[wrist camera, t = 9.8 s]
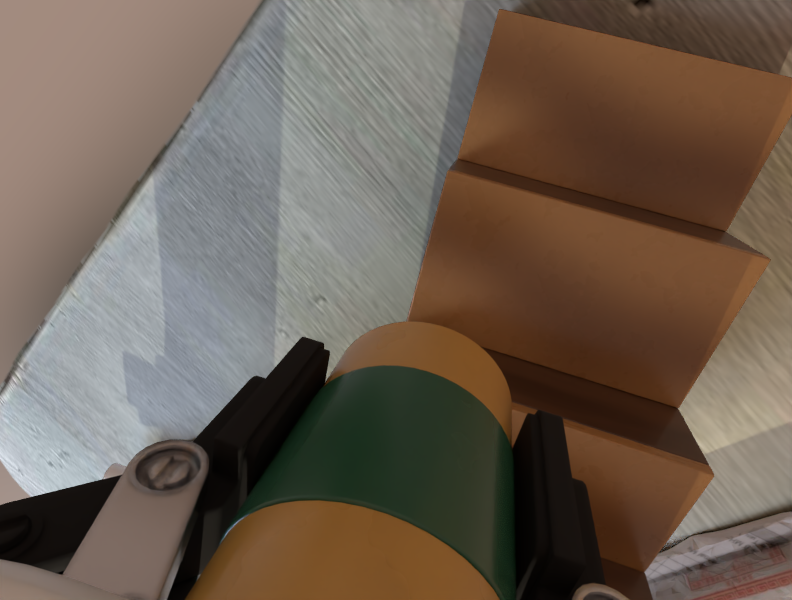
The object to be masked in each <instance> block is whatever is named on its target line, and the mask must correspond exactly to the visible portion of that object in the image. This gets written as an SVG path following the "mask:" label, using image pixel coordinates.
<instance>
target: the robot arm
mask: <svg viewBox="0 0 792 600" xmlns="http://www.w3.org/2000/svg"><path fill="white" fill-rule="evenodd" d="M329 356H330V351H329V350H325V349H324V344H323V343H322V342H319V341H315V340H312V339H309V338H306V337H302V338H301V339H300V340H299V341H298V342H297V343H296V344H295V345H294V347H293V348H292V349H291V350H290V351H289V352H288V353H287V355H286V356H285V357H284V358H283V359H282V360H281V361H280V363H279V364H278V365H277V366H276V367H275V368H274V370H273V371H272V372H271V373H270V374H269V375H268V376H267V378H266V379H265V378H262V377H259V376H254V377H253V378H251V379H250V380H249V381H248V382H247V383H246V384H245V386H244V387H243V388H242V389H241V390H240V391H239V392H238V393H237V394H236V395H235V396H234V397H233V399H232V400H231V401H230V402H229V403H228V404H227V405H226V406H225V407H224V408H223V409H222V411H221V412H220V413H219V414H218V415H217V416H216V417H215V418H214V419H213V420H212V421H211V422H210V424H209V425H208V426H207V427H206V428H205V429H204V430H203V431H202V432H201V433H200V434H199V435H198V437H197V438H196V439H195V440H194V441H193V442H190V441H186V440H166V441H161V442H157V443H155V444H152V445H150V446H148V447H146V448H144V449H143V450H141V451H140V452H139V453H137V454H136V455H135V456H134V458H133V459H132V460H131V461H130V462H129V464H128V466H127V467H126V466H123V465H120V464H118V463H115V464H112V465H111V466H110V467H109V468H108V470H107V471H106V472H105V475H104V477H103V479H102V480H98V481H94V482H90V483H86V484H82V485H78V486H74V487H70V488H66V489H62V490H58V491H54V492H50V493H46V494H42V495H38V496H34V497H30V498H26V499H21V500H18V501H13V502H9V503H5V504H3V505H0V600H185V598H186V597H187V595H188V593H189V592H190V590H191V589H192V587H193V586H194V584H195V583H196V581H197V580H198V578H199V577H200V575H201V573H202V572H203V570H204V569H205V567H206V566H207V564H208V563H209V561H210V560H211V558H212V556H213V555H214V553H215V552H216V550H217V547H218V544H219V542H220V539H221V537H222V535H223V534H224V532H225V531H226V529H227V527H228V526H229V524H230V523H231V521H232V520H233V518H234V517H235V515H236V514H237V512H238V511H239V509H240V508H241V506H242V505H243V503H244V502H245V500H246V499H247V497H248V496H249V494H250V492H251V491H252V489H253V488H254V486H255V485H256V483H257V482H258V480H259V479H260V477H261V476H262V474H263V473H264V471H265V470H266V468H267V467H268V465H269V464H270V462H271V460H272V459H273V457H274V456H275V454H276V453H277V451H278V450H279V448H280V447H281V445H282V444H283V442H284V441H285V439H286V438H287V436H288V435H289V433H290V432H291V430H292V429H293V427H294V425H295V424H296V422H297V421H298V419H299V418H300V416H301V415H302V413H303V412H304V410H305V409H306V407H307V406H308V404H309V403H310V401H311V400H312V398H313V397H314V396H315V394H316V393H317V392H318V391H319V390H320V389H321V388H322V387H323V385H324V384H325V379H326V373H327V367H328V362H329ZM512 452H513V457H514V464H515V539H516V600H630V599H628V598H627V597H625V596H624V595H623V594H621V593H620V592H618V591H617V590H615V589H613V588H610V587H608V586H606V583H605V578H604V572H603V567H602V562H601V557H600V552H599V547H598V542H597V537H596V531H595V526H594V521H593V516H592V511H591V506H590V501H589V496H588V490H587V487H586V484H585V483H584V482H583V481H580V480H577V479H574V478H572V473H571V466H570V460H569V454H568V448H567V442H566V435H565V429H564V423H563V419H562V417H561V416H558V415H554V414H551V413H548V412H545V411H542V410H537V412H536V413H535V415H534V414H531V413H528V414H527V415H526V417H525V420H524V422H523V424H522V427H521V429H520V432H519V434H518V436H517V439H516V441H515V443H514V446H513V448H512Z"/></svg>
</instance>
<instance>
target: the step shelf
mask: <svg viewBox="0 0 792 600" xmlns="http://www.w3.org/2000/svg"><path fill="white" fill-rule="evenodd" d="M791 115H792V78H791V77H787V76H783V75H778V74H774V73H770V72H766V71H761V70H757V69H753V68H749V67H745V66H740V65H736V64H732V63H728V62H723V61H719V60H715V59H711V58H706V57H702V56H698V55H694V54H689V53H685V52H681V51H677V50H672V49H668V48H664V47H660V46H655V45H651V44H647V43H643V42H638V41H634V40H630V39H626V38H622V37H617V36H613V35H609V34H605V33H600V32H596V31H592V30H588V29H583V28H579V27H575V26H571V25H566V24H562V23H558V22H554V21H549V20H545V19H541V18H537V17H532V16H528V15H524V14H520V13H516V12H511V11H507V10H503V9H499V11H498V15H497V19H496V22H495V26H494V29H493V33H492V36H491V40H490V44H489V47H488V51H487V54H486V58H485V62H484V65H483V69H482V72H481V76H480V79H479V83H478V87H477V90H476V94H475V97H474V101H473V105H472V108H471V112H470V115H469V119H468V122H467V126H466V130H465V133H464V137H463V140H462V144H461V148H460V151H459V155H458V159H457V160H456V162H455V163H454V164H453V165H452V166H451V167H450V169H449V170H448V171H447V174H446V178H445V182H444V185H443V189H442V193H441V196H440V200H439V204H438V207H437V211H436V215H435V218H434V222H433V226H432V229H431V233H430V237H429V240H428V244H427V248H426V251H425V255H424V259H423V262H422V266H421V270H420V273H419V277H418V281H417V284H416V288H415V292H414V295H413V299H412V303H411V306H410V310H409V314H408V317H407V321H406V322H424V323H431V324H435V325H440V326H443V327H446V328H449V329H452V330H454V331H456V332H458V333H460V334H462V335H464V336H466V337H467V338H469V339H471V340H472V341H474V342H475V343H476V344H478V345H479V346H480V347H481V348H482V349H484V350H485V351H486V352H487V353H488V354H489V355H490V357H491V358H492V359H493V360H494V361H495V362H496V364H497V365H498V367H499V368H500V370H501V371H502V373H503V375H504V377H505V379H506V381H507V384H508V387H509V390H510V395H511V400H512V448H513V446H514V443H515V441H516V439H517V436H518V434H519V432H520V429H521V427H522V424H523V422H524V420H525V417H526V415H527V414H528V413H531V414H534V415H535V413H536V412H537V410H542V411H545V412H548V413H551V414H554V415H558V416H561V417H562V419H563V423H564V429H565V435H566V442H567V448H568V454H569V460H570V466H571V473H572V478H574V479H577V480H580V481H583V482H584V483H585V484H586V487H587V490H588V496H589V501H590V506H591V511H592V516H593V521H594V526H595V531H596V537H597V542H598V547H599V552H600V557H601V562H602V567H603V572H604V578H605V583H606V586H608V587H610V588H613V589H615V590H617V591H618V592H620V593H621V594H623V595H624V596H625V597H627V598H628V599H630V600H653V598H652V594H651V591H650V588H649V584H648V581H647V577H646V574H645V571H646V570H647V569H648V567H649V566H650V564H651V563H652V562H653V560H654V559H655V557H656V556H657V555H658V553H659V552H660V551H661V549H662V548H663V546H664V545H665V544H666V542H667V541H668V539H669V538H670V537H671V535H672V534H673V533H674V531H675V530H676V528H677V527H678V526H679V524H680V523H681V521H682V520H683V519H684V517H685V516H686V515H687V513H688V512H689V510H690V509H691V508H692V506H693V505H694V503H695V502H696V501H697V499H698V498H699V497H700V495H701V494H702V492H703V491H704V490H705V488H706V487H707V485H708V484H709V483H710V481H711V480H712V479H713V477H714V473H713V471H712V469H711V468H710V466H709V464H708V462H707V460H706V458H705V457H704V455H703V453H702V451H701V449H700V448H699V446H698V444H697V442H696V440H695V439H694V437H693V435H692V433H691V431H690V429H689V428H688V426H687V424H686V422H685V420H684V419H683V417H682V415H681V413H680V411H679V410H678V408H679V407H680V405H681V403H682V402H683V400H684V399H685V397H686V395H687V394H688V392H689V391H690V389H691V387H692V386H693V384H694V383H695V381H696V379H697V378H698V376H699V375H700V373H701V371H702V370H703V368H704V366H705V365H706V363H707V362H708V360H709V358H710V357H711V355H712V354H713V352H714V350H715V349H716V347H717V346H718V344H719V342H720V341H721V339H722V338H723V336H724V334H725V333H726V331H727V330H728V328H729V326H730V325H731V323H732V321H733V320H734V318H735V317H736V315H737V313H738V312H739V310H740V309H741V307H742V305H743V304H744V302H745V301H746V299H747V297H748V296H749V294H750V293H751V291H752V289H753V288H754V286H755V285H756V283H757V281H758V280H759V278H760V276H761V275H762V273H763V272H764V270H765V268H766V267H767V265H768V264H769V262H770V259H769V258H768V257H766V256H764V255H763V254H761V253H760V252H758V251H756V250H755V249H753V248H752V247H750V246H748V245H747V244H745V243H743V242H742V241H740V240H738V239H737V238H735V237H733V236H732V235H730V234H728V233H727V232H725V231H727V229H728V227H729V226H730V224H731V222H732V220H733V218H734V217H735V215H736V213H737V211H738V210H739V208H740V206H741V204H742V202H743V201H744V199H745V197H746V195H747V194H748V192H749V190H750V188H751V186H752V185H753V183H754V181H755V179H756V178H757V176H758V174H759V172H760V170H761V169H762V167H763V165H764V163H765V161H766V160H767V158H768V156H769V154H770V153H771V151H772V149H773V147H774V145H775V144H776V142H777V140H778V138H779V137H780V135H781V133H782V131H783V129H784V128H785V126H786V124H787V122H788V120H789V119H790V117H791Z"/></svg>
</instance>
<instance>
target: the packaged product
mask: <svg viewBox="0 0 792 600" xmlns="http://www.w3.org/2000/svg"><path fill="white" fill-rule="evenodd" d="M645 574H646V577H647V581H648V584H649V588H650V591H651V594H652V598H653V600H792V511H791V512H785V513H780V514H776V515H773V516H769V517H766V518H763V519H759V520H756V521H752V522H749V523H745V524H742V525H739V526H735V527H732V528H728V529H725V530H721V531H715V532H710V533H705V534H699V535H694V536H691V537H689V538H687V539H686V540H684V541H682V542H681V543H679V544H677V545H676V546H674V547H672V548H671V549H669V550H666V551H664V552H661V553H659V554H658V555H657V556H656V557H655V559H654V560H653V562H652V563H651V564H650V566H649V567H648V569H647V570H646V571H645Z"/></svg>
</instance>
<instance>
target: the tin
mask: <svg viewBox="0 0 792 600" xmlns="http://www.w3.org/2000/svg"><path fill="white" fill-rule="evenodd" d="M185 600H516V539H515V464H514V457H513V452H512V400H511V395H510V390H509V387H508V384H507V381H506V379H505V377H504V375H503V373H502V371H501V370H500V368H499V367H498V365H497V364H496V362H495V361H494V360H493V359H492V358H491V357H490V355H489V354H488V353H487V352H486V351H485V350H484V349H482V348H481V347H480V346H479V345H478V344H476V343H475V342H474V341H472V340H471V339H469V338H467V337H466V336H464V335H462V334H460V333H458V332H456V331H454V330H452V329H449V328H446V327H443V326H440V325H435V324H431V323H424V322H399V323H392V324H388V325H384V326H380V327H378V328H376V329H373V330H371V331H369V332H367V333H366V334H364V335H362V336H361V337H359V338H358V339H357V340H356V341H354V342H353V343H352V344H351V345H350V347H349V348H348V349H347V350H346V351H345V353H344V354H343V356H342V357H341V359H340V360H339V362H338V364H337V365H336V367H335V368H334V370H333V371H332V373H331V374H330V376H329V377H328V379H327V381H326V382H325V384H324V385H323V387H322V388H321V389H320V390H319V391H318V392H317V393H316V394H315V396H314V397H313V398H312V400H311V401H310V403H309V404H308V406H307V407H306V409H305V410H304V412H303V413H302V415H301V416H300V418H299V419H298V421H297V422H296V424H295V425H294V427H293V429H292V430H291V432H290V433H289V435H288V436H287V438H286V439H285V441H284V442H283V444H282V445H281V447H280V448H279V450H278V451H277V453H276V454H275V456H274V457H273V459H272V460H271V462H270V464H269V465H268V467H267V468H266V470H265V471H264V473H263V474H262V476H261V477H260V479H259V480H258V482H257V483H256V485H255V486H254V488H253V489H252V491H251V492H250V494H249V496H248V497H247V499H246V500H245V502H244V503H243V505H242V506H241V508H240V509H239V511H238V512H237V514H236V515H235V517H234V518H233V520H232V521H231V523H230V524H229V526H228V527H227V529H226V531H225V532H224V534H223V535H222V537H221V539H220V542H219V544H218V547H217V550H216V552H215V553H214V555H213V556H212V558H211V560H210V561H209V563H208V564H207V566H206V567H205V569H204V570H203V572H202V573H201V575H200V577H199V578H198V580H197V581H196V583H195V584H194V586H193V587H192V589H191V590H190V592H189V593H188V595H187V597H186V598H185Z"/></svg>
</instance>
